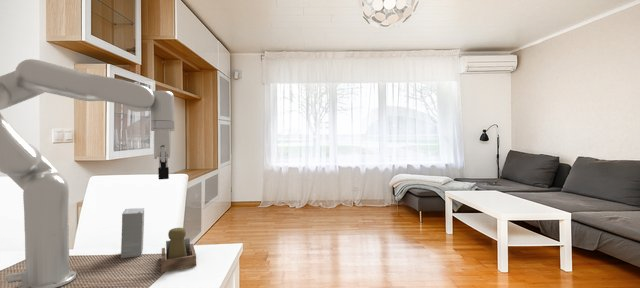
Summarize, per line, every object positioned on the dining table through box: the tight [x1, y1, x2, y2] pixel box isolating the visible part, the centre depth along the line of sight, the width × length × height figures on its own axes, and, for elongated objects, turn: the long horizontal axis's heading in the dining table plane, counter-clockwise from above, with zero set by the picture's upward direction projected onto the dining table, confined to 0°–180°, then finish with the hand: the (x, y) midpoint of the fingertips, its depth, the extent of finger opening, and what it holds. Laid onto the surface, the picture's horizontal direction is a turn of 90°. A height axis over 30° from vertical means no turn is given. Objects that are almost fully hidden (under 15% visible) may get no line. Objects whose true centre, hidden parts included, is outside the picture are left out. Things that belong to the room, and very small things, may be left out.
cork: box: [167, 227, 187, 259], centre depth 103 cm, size 6×6×11 cm
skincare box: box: [120, 207, 145, 259], centre depth 114 cm, size 8×7×16 cm
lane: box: [160, 243, 197, 273], centre depth 106 cm, size 10×14×3 cm
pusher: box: [165, 237, 191, 259], centre depth 107 cm, size 7×1×6 cm, turn 116°
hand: (163, 178), depth 111 cm, fingers closed
